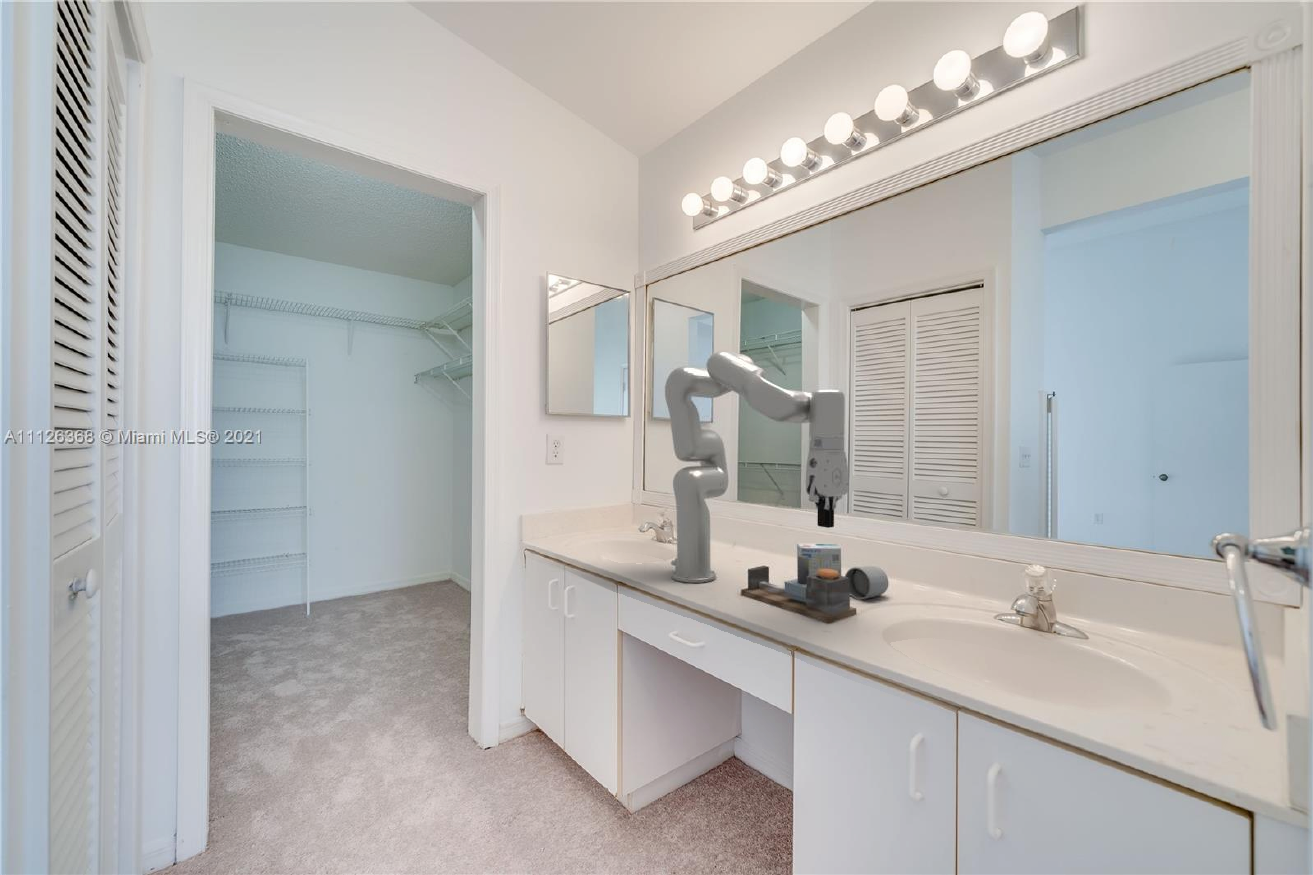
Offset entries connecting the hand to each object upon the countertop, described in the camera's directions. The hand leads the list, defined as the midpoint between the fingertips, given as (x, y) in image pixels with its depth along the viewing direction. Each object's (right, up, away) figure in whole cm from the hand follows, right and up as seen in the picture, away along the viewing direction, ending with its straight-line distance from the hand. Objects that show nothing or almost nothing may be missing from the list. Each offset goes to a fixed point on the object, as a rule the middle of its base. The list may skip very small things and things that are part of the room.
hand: (825, 526), depth 114 cm
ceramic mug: (+13, -20, +13) cm, 27 cm away
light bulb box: (+6, -20, +23) cm, 31 cm away
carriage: (-4, -18, +5) cm, 19 cm away
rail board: (-5, -20, +7) cm, 21 cm away
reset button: (0, -15, 0) cm, 15 cm away
